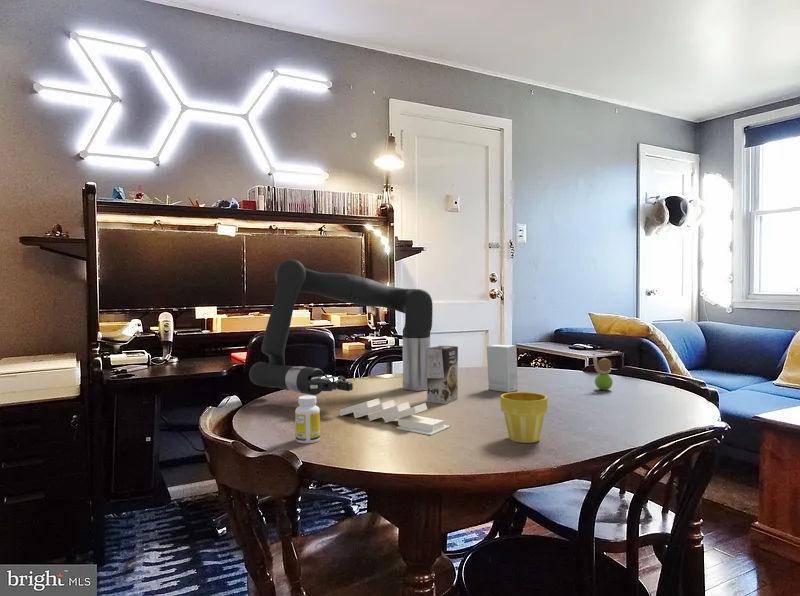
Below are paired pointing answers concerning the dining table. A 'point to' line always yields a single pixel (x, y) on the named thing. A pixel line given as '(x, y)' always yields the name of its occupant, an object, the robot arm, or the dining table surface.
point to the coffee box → (442, 374)
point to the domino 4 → (405, 412)
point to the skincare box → (502, 368)
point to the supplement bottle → (307, 420)
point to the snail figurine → (603, 373)
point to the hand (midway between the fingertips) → (350, 386)
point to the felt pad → (422, 430)
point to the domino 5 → (421, 423)
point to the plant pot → (524, 415)
